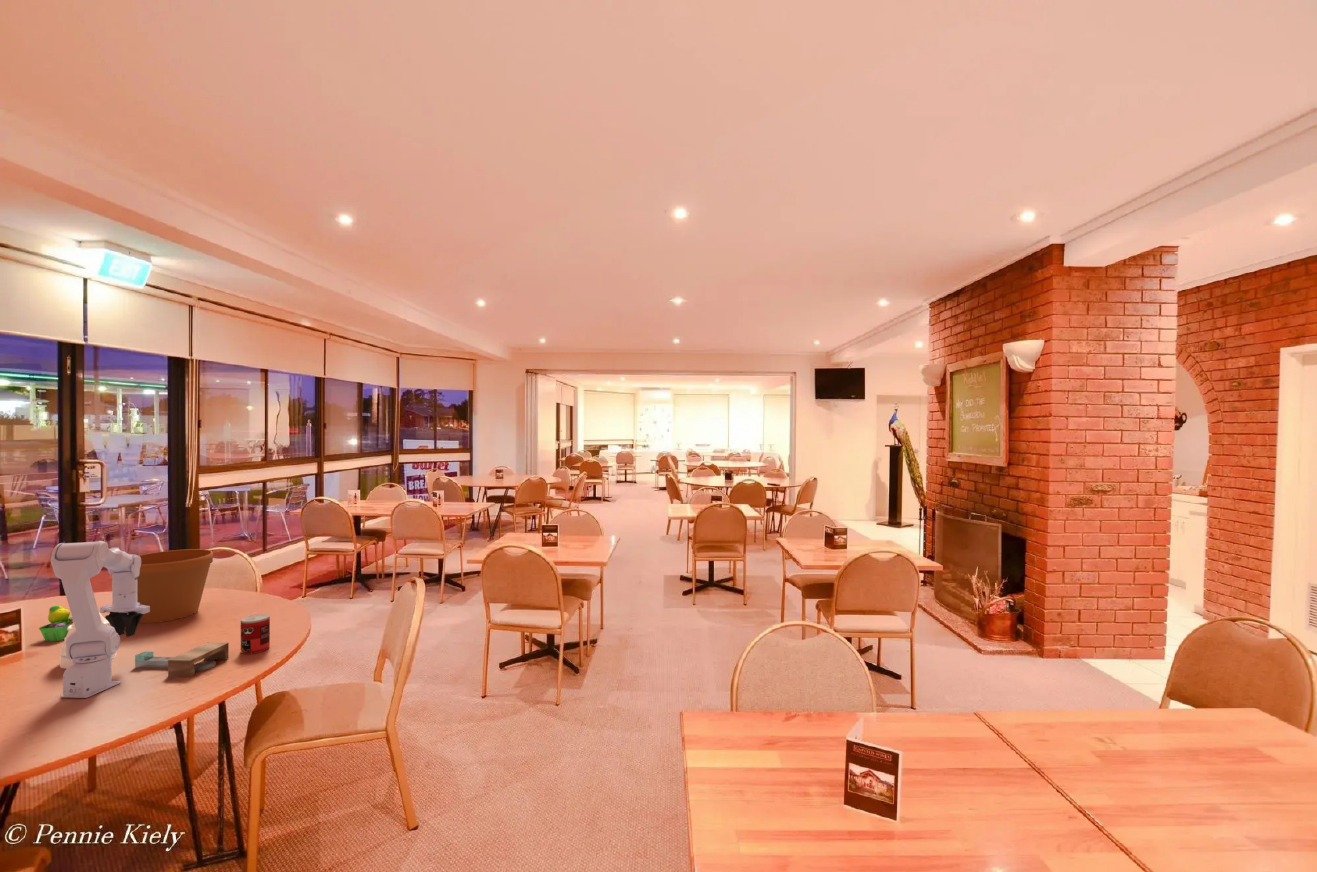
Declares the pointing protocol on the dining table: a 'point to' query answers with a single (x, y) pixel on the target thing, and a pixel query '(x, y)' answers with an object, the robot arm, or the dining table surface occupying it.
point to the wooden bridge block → (196, 658)
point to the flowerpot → (172, 583)
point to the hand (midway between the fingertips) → (125, 635)
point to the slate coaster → (204, 665)
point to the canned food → (255, 633)
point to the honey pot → (64, 660)
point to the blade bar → (150, 661)
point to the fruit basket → (57, 624)
